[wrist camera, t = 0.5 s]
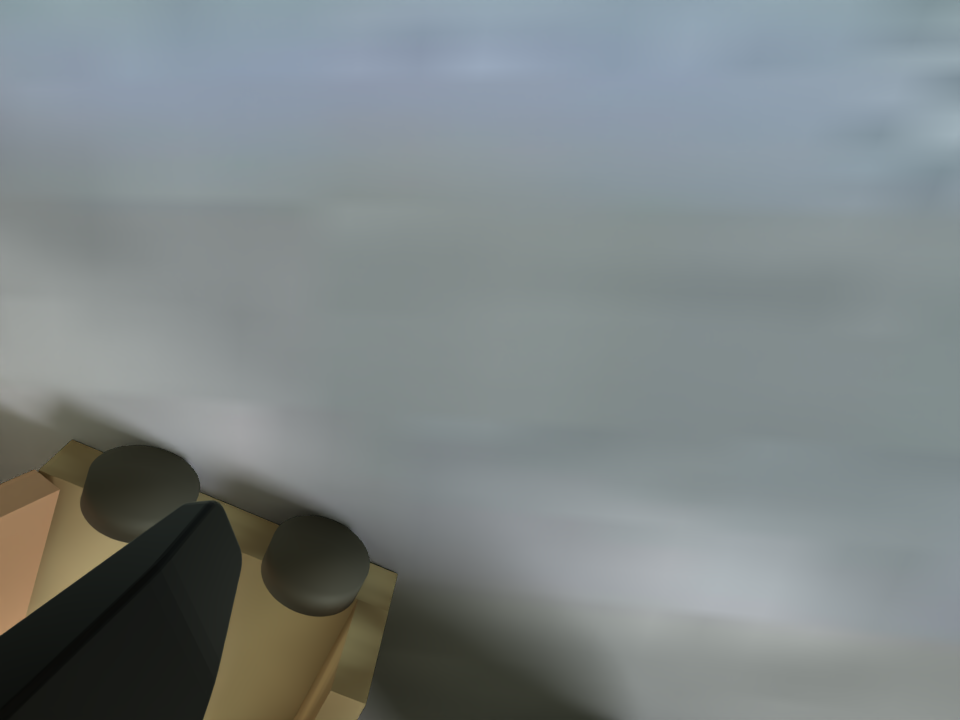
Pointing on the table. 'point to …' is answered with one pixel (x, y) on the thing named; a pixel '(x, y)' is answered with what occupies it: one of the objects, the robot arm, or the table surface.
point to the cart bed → (261, 588)
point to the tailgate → (22, 540)
